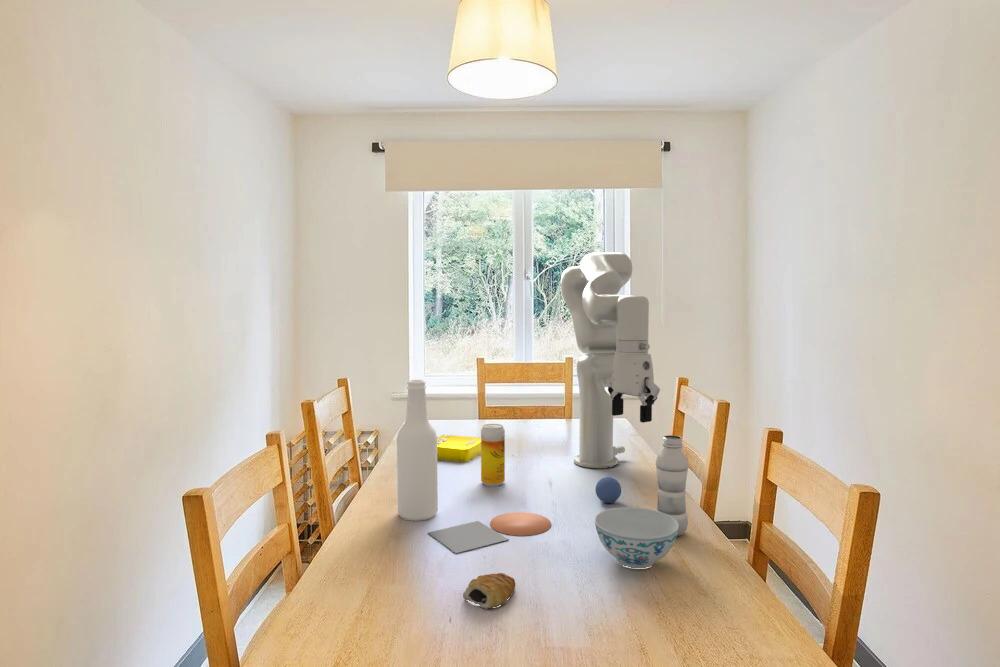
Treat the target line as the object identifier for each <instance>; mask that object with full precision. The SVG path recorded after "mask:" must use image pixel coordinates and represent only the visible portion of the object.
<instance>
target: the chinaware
mask: <svg viewBox="0 0 1000 667" xmlns="http://www.w3.org/2000/svg"><path fill="white" fill-rule="evenodd" d="M594 524H595V530H596V533H597V535H598V538H599V541H600V542H601V544H602V545H603V547H604V548H605V550H606V551H607V552H608V553H609V554H610V555H611V556H612V557H613V558H615V559H616V562H617V561H618V562H619V563H620V564H621V565H624V566H628V567H631V568H646V567H650V566H652V565H653V564H654V565H655V563H656V562H658V561H660V560H661V559H662V558H664V557H665V556H666V555H667V554H668V553H669V552H670V550H671V549H672V547H673V546H674V544H675V542H676V539H677V537H678V536H677V533H678V529H679V524H678V522H677V521H676V520H675V519H674V518H672V517H671V516H669V515H667V514H664V513H662V512H658V511H656V510H655V509H650V508H649V509H648V508H641V507H629V506H626V507H614V508H609V509H606V510H603V511H600V512H599V513H598V514H596V515H595V518H594ZM618 562H617V563H618ZM621 565H620V566H621Z"/></svg>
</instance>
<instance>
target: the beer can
mask: <svg viewBox="0 0 1000 667" xmlns="http://www.w3.org/2000/svg"><path fill="white" fill-rule="evenodd" d="M505 433H506V431H505V428H504V425H503V424H500V423H487V424H483V425H482V427H481V430H480V438H481V454H480V481H481V482H482V484H483V485H484V486H487V487H499V485H500V486H501V484H502V485H503V484H504V482H505V481H506V480H505V479H506V478H505V477H506V476H505V475H506V473H505V472H506V470H505V469H506V468H505V467H506V465H505V462H506V458H505V456H506V454H505V452H506V451H505V450H506V444H505V443H506V441H505V440H506V439H505V437H506V436H505Z"/></svg>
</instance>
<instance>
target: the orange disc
mask: <svg viewBox="0 0 1000 667" xmlns="http://www.w3.org/2000/svg"><path fill="white" fill-rule="evenodd" d="M489 524H490V527H491V529H492V530H494V531H495V530H496V532H497V533H499V534H503V535H507V534H509V536H514V535H517V537H518V536H519V537H526V536H527V535H529V536H534V535H535V534H536V535H539V533H540V534H543V533H544V532H547V531H549V529H551V526H552V522H551V520H550V519H549V518H548V517H546V516H543V515H541V514H538V513H533V512H527V511H526V512H525V511H524V512H523V511H521V512H520V511H519V512H518V511H517V512H515V511H514V512H505V513H502V514H499V515H496V516H494V517H493V518H491V520H490V521H489ZM542 532H543V533H542Z"/></svg>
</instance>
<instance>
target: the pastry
mask: <svg viewBox="0 0 1000 667" xmlns="http://www.w3.org/2000/svg"><path fill="white" fill-rule="evenodd" d="M514 590H515V591H516V581H515V579H514V577H511V576H509V575H508V574H506V573H502V572H499V573H489V574H484V575H483V574H482V575H481V574H480V575H478V576H477V578H475V579H474V578H473V579H471V581H469V583H468V586H467V587H466V589H465V591H464V592H463V593H462V597H463V599H465V600H469V601H471V602H474V603H475V604H479V605H480V606H481V607H480V608H482V607H483V608H482V609H485V608H493V607H497V606H499V605H502V604H503V603H504V604H505V602H506V601H507V599H508V598H509V597H510V596H511V594H512V593H513V592H515V591H514ZM513 594H514V593H513ZM513 594H512V595H513ZM511 597H512V596H511ZM511 597H510V598H511ZM465 600H464V601H465ZM507 602H508V601H507ZM507 602H506V603H507ZM504 604H503V605H504ZM503 605H502V606H503Z"/></svg>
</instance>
